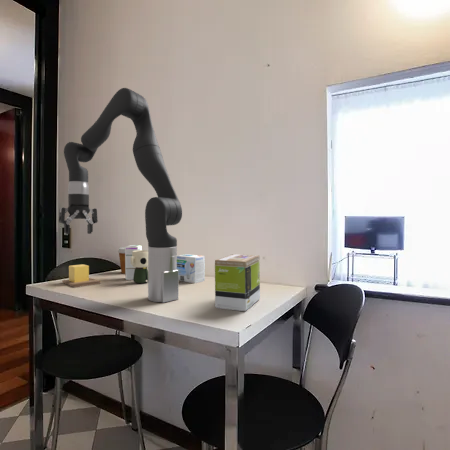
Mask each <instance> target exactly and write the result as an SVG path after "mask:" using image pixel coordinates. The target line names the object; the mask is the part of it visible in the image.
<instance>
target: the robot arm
mask: <svg viewBox="0 0 450 450" xmlns="http://www.w3.org/2000/svg"><path fill="white" fill-rule="evenodd" d="M120 116H123V117H125V118H128V119H130V120H131V121H132V123H133V125H134V128H135V129H134V130H135V132H136V136H135V139H134V141H133V144H132V153H133V157H134V161H135V164H136V167H137V169H138V171H139V172H140V174H141V175H142V176H143V178H144V179H145V180H146V181H147V182H148V183H149V184H150V185H151V187H152V188H153V190H154V191H155V193H156V196H155V197H150V198H149V199H148V200H147V203H146V205H145V210H144V218H145V219H144V221H145V236H146V240H147V246H148V247H147V249H148V267H147V269H148V282H147V294H148V295H147V299H148V301H150V302H155V303H167V302H171V301H175V300H179V281H178V273H179V272H178V270H177V256H178V252H177V251H178V239H177V238H176V237H175V236H173V235H171V234H170V233H169V232H168V229H167V226H175V225H178V224H179V223H180V222H181V220H182V218H183V208H182V204H181V202H180V200H179V197H178V195H177V193H176V191H175V189H174V186H173V184H172V181H171V179H170V176H169V173H168V170H167V167H166V165H165V161H164V158H163V155H162V151H161V149H160V145H159V143H158V139H157V135H156V133H155V130H154V125H153V121H152V117H151V116H152V115H151V113H150V107H149V103H148V102H147V99H146V98H145V97H144V96H142V95H141V94H140V93H138V92H136V91H135V90H132V89H130V88H127V87H122V88H120V89H118V90H117V91H116V93H114V95H113V96H112V97H111V98H110V100H109V102H108V103H107V104H106V106H105V108H104V109H103V110H102V112H101V114H100V115H99V117H98V118H97V120H96V121H94V123H93V124H92V125H91V126H90V127H89V128H88V129H87V130H86V131H85V132H84V133H83V134H82V135H81V137H80V141H81V142H80V143H78V142H74V141H69V142H67V143H66V144H65V146H64V148H63V155H64V159H65V163H66V167H67V170H68V187H67V189H68V190H67V194H68V196H67V197H68V198H67V199H68V201H67V203H68V207H59V212H58V215H59V216H58V223H59V224H63V230H64V231H63V232H64V234H65V235H70V232H71V230H70V229H71V227H70V225H71V224H70V223H71V222H72V221H74V220H75V219H76V220H78V219H80V220H81V219H83V220H84V221H85V222H86V223H87V228H86V229H87V230H86V231H87V234H89V235H91V234H92V233H93V231H94V230H93V229H94V228H93V227H94V224H97V223H98V222H99V221H98V210H97V208H90V187H89V170H88V168H86V167H83V166H81V164H80V163H88V162H90V161H92V160H93V158H94V156H95V154H96V152H97V150H98V149H99V147H101V146H102V145H103V144H104V143H105V142H106V141H107V140H108V139H109V137H110V135H111V130H112V126H113V125H112V124H113V122H114V121H115V120H116V119H117V118H118V117H120ZM67 213H68V216H67V217H65V216H66V214H67ZM89 213H90V214H91V217H90V215H89Z"/></svg>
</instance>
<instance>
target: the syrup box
mask: <svg viewBox="0 0 450 450" xmlns="http://www.w3.org/2000/svg"><path fill="white" fill-rule="evenodd" d="M124 247H125V274H124V275H125V281H133V279H134V271H135V268H136V267H133V266H132V265H131V257H132V251H136V250H143V246H142V245H141V244H140V245H139V244H132V245H127V246H124Z"/></svg>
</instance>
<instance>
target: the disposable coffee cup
mask: <svg viewBox="0 0 450 450" xmlns="http://www.w3.org/2000/svg"><path fill="white" fill-rule="evenodd" d="M125 247H126V246H124V247H123V246H122V247H119V248H118V250H117V252H118V257H119V264H120V271H121V274H122V275H125Z"/></svg>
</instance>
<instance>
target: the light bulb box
mask: <svg viewBox="0 0 450 450" xmlns="http://www.w3.org/2000/svg"><path fill="white" fill-rule="evenodd" d="M205 259H206V258H205V255H199V254H198V255H197V254H188V253H187V254H186V253H184V254H179V255H178V254H177V270H178V272H179V273H178V282H186V283H191V284H199V283H201V282H205V276H206V275H205V272H206V269H205V267H206V266H205V263H206V262H205V261H206V260H205Z"/></svg>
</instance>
